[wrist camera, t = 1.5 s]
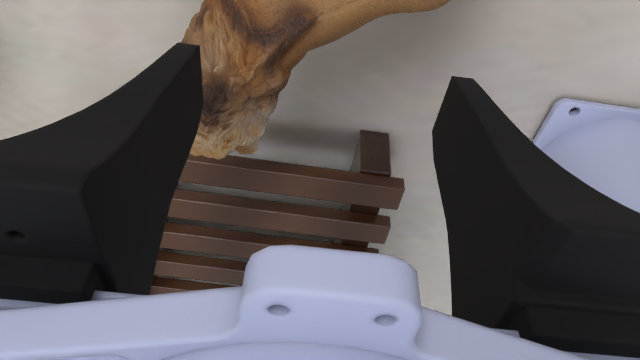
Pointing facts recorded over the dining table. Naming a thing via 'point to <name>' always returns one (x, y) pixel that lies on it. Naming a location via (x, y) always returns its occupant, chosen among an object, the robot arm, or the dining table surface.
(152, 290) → the rack
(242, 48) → the lion figurine
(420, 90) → the dining table surface
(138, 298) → the robot arm
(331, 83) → the dining table surface
